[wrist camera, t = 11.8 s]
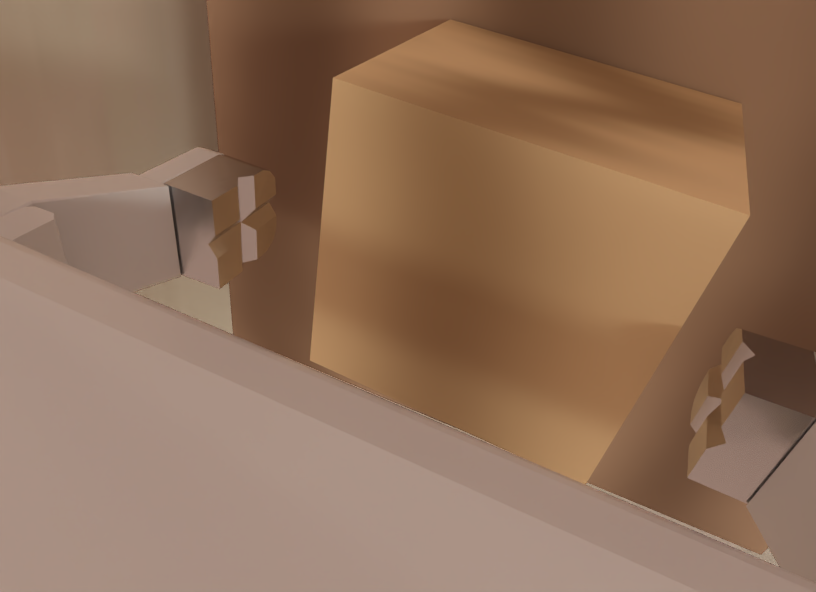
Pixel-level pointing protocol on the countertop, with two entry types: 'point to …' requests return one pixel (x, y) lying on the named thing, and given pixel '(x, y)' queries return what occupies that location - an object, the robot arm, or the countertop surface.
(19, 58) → the countertop surface
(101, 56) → the countertop surface
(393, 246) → the oak block
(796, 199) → the walnut block
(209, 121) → the countertop surface
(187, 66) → the countertop surface
